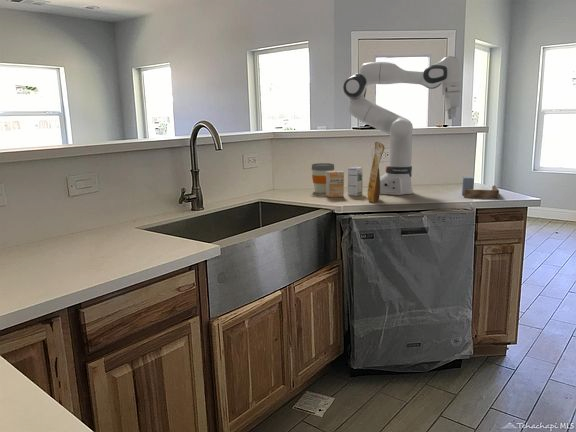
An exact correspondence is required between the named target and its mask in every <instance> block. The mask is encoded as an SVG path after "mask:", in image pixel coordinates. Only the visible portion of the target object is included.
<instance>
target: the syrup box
mask: <svg viewBox="0 0 576 432" xmlns="http://www.w3.org/2000/svg"><path fill="white" fill-rule="evenodd" d="M347 195H348V196H355V197H357V196H361V195H363V167H362V166H352V167H351V166H350V167H347Z"/></svg>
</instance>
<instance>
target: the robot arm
mask: <svg viewBox="0 0 576 432" xmlns="http://www.w3.org/2000/svg"><path fill="white" fill-rule="evenodd" d="M461 65H462V64H461V61H460V59H459V58H458V57H456V56H451V55H449V56H444V58H442V59H441V60H439V61H438V62H437V63H433V64H431V65H428V66H427V67H425V69H424V71H415V70H406V69H403V68H402V67H400V66H398V65H397V64H396V63H392V62H389V61H388V62H386V61H372V62H364V63H363V64H361V66H360V68H359V71H358V73H355V74H353V75H352V76H350V77H348V78H346V80H344V83H343V87H342V88H343V92H344V94H345V96H347V97H348V98H349V99H350V102H349V105H348V113H349V114H350V116H352V117H354V118H355V119H357V120H359V121H360V122H362V123H364V124H366V125H368V126H370V127H372V128H374V129H376V130H379V131H381V132H383V133H385V134H388V135H389V145H390V147H389V149H390V151H389V153H390V154H389V165H387V166H385V173H384V174H383V175H381V176H380V195H391V196H403V195H409V194H413V193H414V190H413V185H412V175H413V166H412V159H413V158H412V157H413V156H412V154H413V153H412V151H413V130H414V126H413V123H412V122H411V120H410V119H408V118H406V117H404V116H401V115H399V114H397V113H395V112H393V111H391V110H388V109H387V108H384V107H382V106H380V105H378V104H377V103H374V102H372V101H370V100H368V99H367V98H366V93H367V87H368V86H369V85H373V84H374V85H394V84H395V85H396V84H411V85H412V84H413V85H420V86H423V87H425V88H428V89H430V90H433V89H434V90H435V89H437V88H438V87H440V86H441V85H442V86H441V88H442V89H441V90H442V91H441V93H442V96H444V98H445V100H444V101H445V102H444V103H445V104H444V107H445V108H444V109H445V112H447V119H448V120H452V119H454V118H456V112H457V108H458V107H459V105H460V95H461V93H462V81H461V76H462V67H461Z"/></svg>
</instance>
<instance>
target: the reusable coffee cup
mask: <svg viewBox="0 0 576 432" xmlns="http://www.w3.org/2000/svg"><path fill="white" fill-rule="evenodd" d="M326 171H335V164H334V163H331V162H330V163H328V162H327V163H324V162H323V163H322V162H321V163H320V162H319V163H312V164H311V172H312V174H311V177H312V183H313V187H314V192H315V193H320V194H321V193H322V194H326Z"/></svg>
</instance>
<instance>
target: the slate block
mask: <svg viewBox="0 0 576 432" xmlns="http://www.w3.org/2000/svg"><path fill="white" fill-rule="evenodd" d="M474 183H475V177H474V176H463V177H462V185H461V186H462V189H461V195H464V191H465V189H473V190H474V186H475V185H474Z"/></svg>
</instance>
